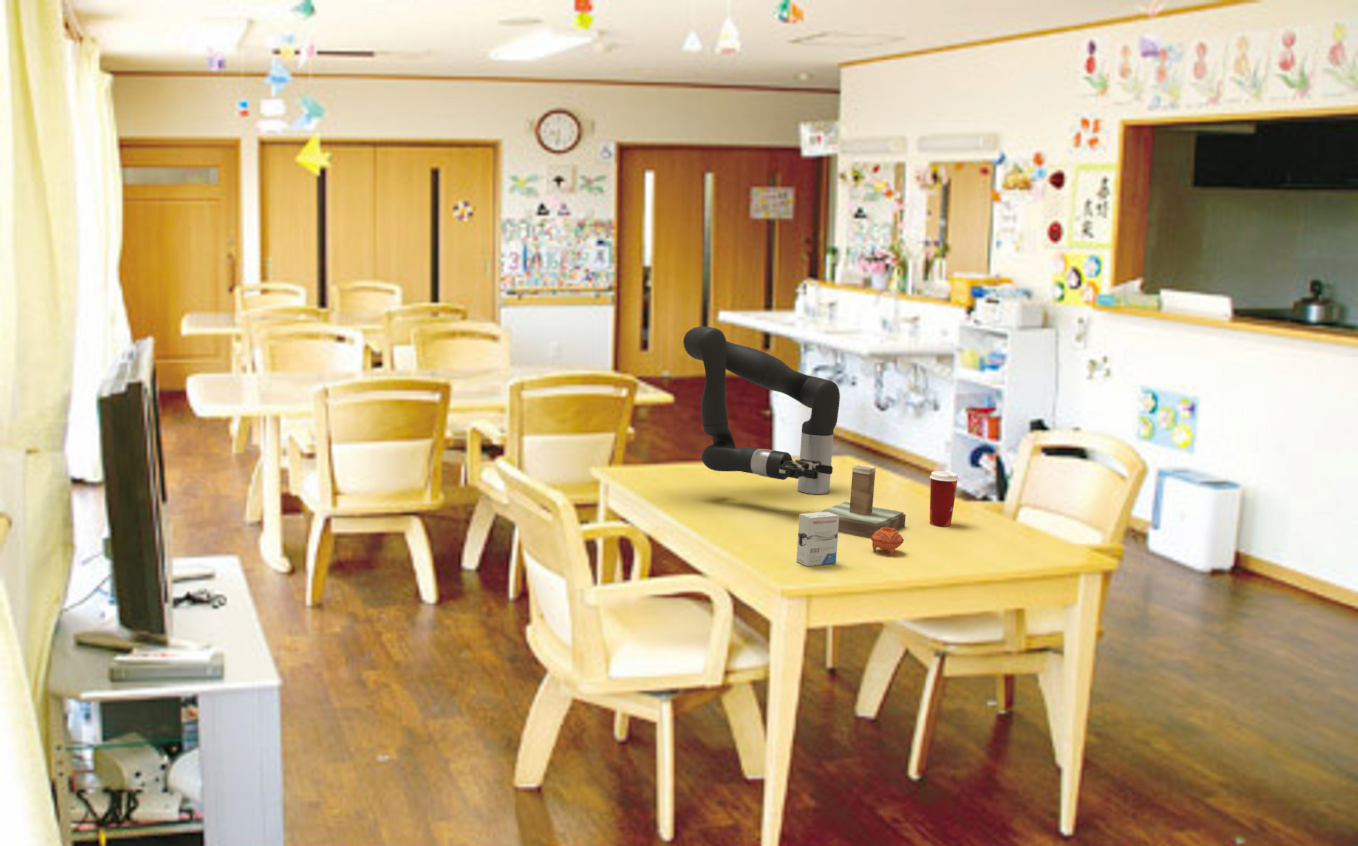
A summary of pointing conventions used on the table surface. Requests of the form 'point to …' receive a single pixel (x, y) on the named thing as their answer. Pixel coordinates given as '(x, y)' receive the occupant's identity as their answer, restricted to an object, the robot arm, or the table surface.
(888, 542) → the pot
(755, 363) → the robot arm
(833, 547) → the ink box
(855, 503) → the block
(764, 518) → the table surface
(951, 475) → the paper cup
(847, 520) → the block
